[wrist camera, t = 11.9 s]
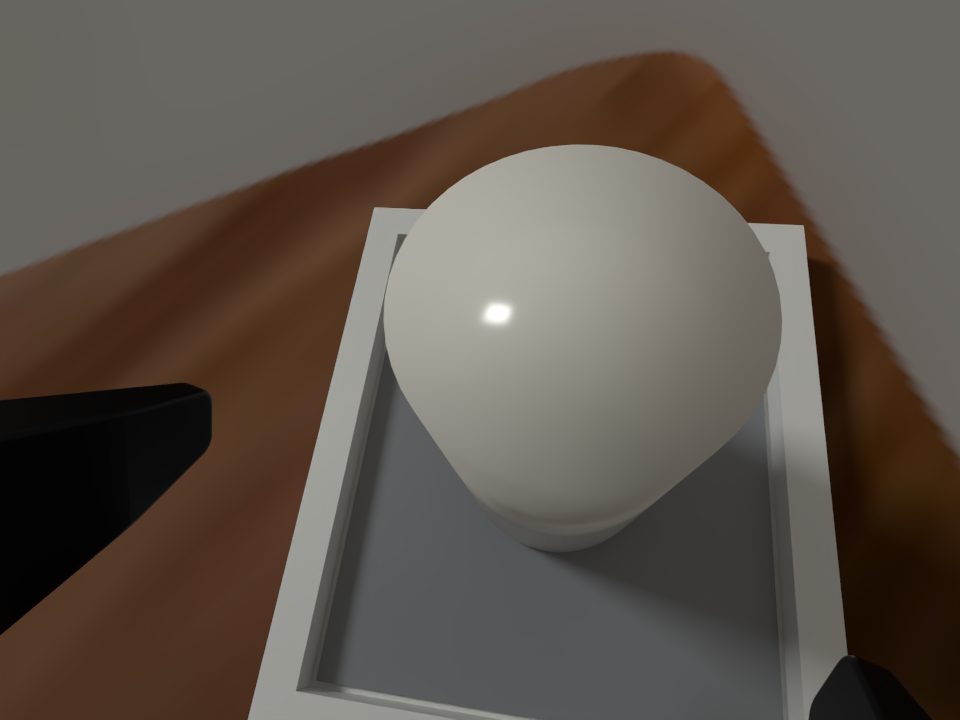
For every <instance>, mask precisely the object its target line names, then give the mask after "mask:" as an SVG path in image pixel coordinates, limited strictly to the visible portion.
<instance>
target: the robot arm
mask: <svg viewBox="0 0 960 720" xmlns="http://www.w3.org/2000/svg"><path fill="white" fill-rule="evenodd" d="M211 439H212V398H211V396H210V394H209V393H208V392H207V391H206V390H203V389H201V388H199V387H196V386H194V385H191V384H188V383H174V384H164V385H153V386H143V387H132V388H122V389H112V390H101V391H91V392H81V393H70V394H60V395H50V396H39V397H29V398H19V399H8V400H0V635H1V634H2V633H4V632H5V631H6V630H7V629H8V628H10V627H11V626H12V625H13V624H14V623H16V622H17V621H18V620H19V619H20V618H21V617H23V616H24V615H25V614H26V613H27V612H29V611H30V610H31V609H32V608H33V607H35V606H36V605H37V604H38V603H39V602H41V601H42V600H43V599H44V598H45V597H47V596H48V595H49V594H50V593H51V592H53V591H54V590H55V589H56V588H57V587H59V586H60V585H61V584H62V583H63V582H65V581H66V580H67V579H68V578H69V577H71V576H72V575H73V574H74V573H75V572H77V571H78V570H79V569H80V568H81V567H83V566H84V565H85V564H86V563H87V562H89V561H90V560H91V559H92V558H93V557H95V556H96V555H97V554H98V553H99V552H101V551H102V550H103V549H104V548H105V547H107V546H108V545H109V544H110V543H111V542H113V541H114V540H115V539H116V538H117V537H119V536H120V535H121V534H122V533H123V532H124V531H125V530H127V529H128V528H129V527H130V526H131V525H132V524H133V523H134V522H135V521H136V520H137V519H139V518H140V517H141V516H142V515H143V514H144V513H145V512H146V511H147V510H148V509H149V508H150V507H151V506H152V505H153V504H154V503H155V502H156V501H157V500H158V499H159V498H160V497H161V496H162V495H163V494H164V493H165V492H166V491H167V490H168V489H169V488H170V487H171V486H172V485H173V484H174V483H175V482H176V481H177V480H178V479H179V478H180V477H181V476H182V475H183V474H184V473H185V472H186V471H187V470H188V469H189V468H190V467H191V466H192V465H193V464H194V463H195V462H196V461H197V460H198V459H199V458H200V457H201V456H202V455H203V454H204V453H205V452H206V450H207V449H208V447H209V445H210V442H211ZM809 720H932V719H931V718H930V717H929V715H928V714H927V713H926V712H925V711H924V710H923V709H922V707H921V706H920V705H919V704H918V703H917V702H916V700H915V699H914V698H913V697H912V696H911V695H910V694H909V692H908V691H907V690H906V689H905V688H904V687H903V685H902V684H901V683H900V682H899V681H898V680H897V679H896V677H895V676H894V675H893V674H892V673H891V672H890V671H888V670H887V669H885V668H884V667H881V666H879V665H877V664H874V663H872V662H869V661H867V660H864V659H862V658H859V657H857V656H854V655H847V656H844V657H843V658H841V659H840V661H839V662H838V663H837V664H836V666H835V667H834V669H833V670H832V672H831V673H830V675H829V676H828V678H827V679H826V681H825V682H824V684H823V685H822V687H821V688H820V690H819V691H818V693H817V694H816V696H815V697H814V699H813V701H812V704H811V707H810V712H809Z"/></svg>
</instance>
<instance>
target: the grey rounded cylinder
mask: <svg viewBox="0 0 960 720" xmlns="http://www.w3.org/2000/svg"><path fill="white" fill-rule="evenodd" d="M384 331H385V342H386V347H387V351H388V355H389V359H390V363H391V367H392V369H393V372H394V374H395V377H396V379H397V381H398V384H399V386H400V389H401V390H402V392H403V394H404V395H405V397H406V399H407V401H408V402H409V404H410V406H411V407H412V409H413V410H414V412H415V413H416V415H417V416H418V418H419V419H420V421H421V422H422V423H423V425H424V426H425V428H426V429H427V431H428V432H429V434H430V435H431V437H432V438H433V439H434V441H435V442H436V444H437V445H438V447H439V448H440V450H441V451H442V452H443V454H444V455H445V457H446V458H447V460H448V461H449V463H450V464H451V465H452V467H453V468H454V470H455V471H456V473H457V474H458V476H459V477H460V478H461V480H462V481H463V483H464V484H465V486H466V487H467V489H468V490H469V491H470V493H471V494H472V496H473V497H474V499H475V500H476V502H477V503H478V504H479V506H480V507H481V509H482V510H483V512H484V513H485V514H486V515H487V517H488V518H489V519H490V521H491V522H492V523H493V524H494V525H495V526H497V527H498V528H499V529H500V530H501V531H502V532H504V533H505V534H506V535H508V536H509V537H510V538H512V539H514V540H516V541H518V542H519V543H521V544H524V545H526V546H529V547H531V548H535V549H539V550H543V551H549V552H574V551H580V550H584V549H588V548H591V547H594V546H596V545H598V544H601V543H603V542H605V541H607V540H608V539H610V538H611V537H613V536H614V535H616V534H617V533H618V532H619V531H621V530H622V529H623V528H624V527H626V526H627V525H628V524H629V523H630V522H632V521H633V520H634V519H635V518H637V517H638V516H639V515H640V514H641V513H643V512H644V511H645V510H646V509H647V508H649V507H650V506H651V505H652V504H654V503H655V502H656V501H657V500H658V499H660V498H661V497H662V496H663V495H664V494H666V493H667V492H668V491H669V490H671V489H672V488H673V487H674V486H675V485H677V484H678V483H679V482H680V481H681V480H683V479H684V478H685V477H686V476H688V475H689V474H690V473H691V472H692V471H694V470H695V469H696V468H697V467H698V466H700V465H701V464H702V463H703V462H705V461H706V460H707V459H708V458H709V457H711V456H712V455H713V454H714V453H716V452H717V451H718V450H719V449H720V448H721V447H722V446H723V445H724V444H726V443H727V442H728V441H729V440H730V439H731V438H732V437H733V436H734V435H736V434H737V432H738V431H739V430H740V429H741V427H742V426H743V425H744V424H745V423H746V421H747V420H748V419H749V418H750V417H751V415H752V414H753V413H754V411H755V409H756V408H757V406H758V404H759V402H760V401H761V399H762V397H763V396H764V394H765V392H766V390H767V388H768V385H769V383H770V380H771V378H772V375H773V373H774V370H775V368H776V363H777V359H778V354H779V350H780V345H781V332H782V311H781V301H780V294H779V290H778V286H777V282H776V278H775V274H774V271H773V269H772V266H771V264H770V261H769V259H768V257H767V254H766V252H765V250H764V248H763V247H762V245H761V243H760V241H759V240H758V238H757V236H756V235H755V233H754V231H753V230H752V229H751V227H750V226H749V225H748V224H747V222H746V221H745V220H744V218H743V217H742V216H741V215H740V213H739V212H738V211H737V210H736V209H735V208H734V207H733V206H732V205H731V204H730V203H729V202H728V201H727V200H726V199H725V198H724V197H723V196H721V195H720V194H719V193H717V192H716V191H715V190H714V189H712V188H711V187H710V186H708V185H707V184H706V183H704V182H703V181H701V180H700V179H698V178H696V177H695V176H693V175H691V174H690V173H688V172H686V171H685V170H683V169H681V168H679V167H676V166H674V165H672V164H670V163H668V162H665V161H663V160H661V159H658V158H655V157H652V156H649V155H646V154H643V153H639V152H635V151H630V150H626V149H621V148H616V147H607V146H598V145H563V146H552V147H545V148H540V149H535V150H530V151H525V152H522V153H519V154H515V155H512V156H509V157H505V158H503V159H501V160H498V161H496V162H493V163H491V164H489V165H486V166H484V167H482V168H480V169H479V170H477V171H475V172H473V173H471V174H470V175H468V176H466V177H465V178H463V179H462V180H460V181H459V182H457V183H456V184H455V185H453V186H452V187H450V188H449V189H448V190H447V191H445V192H444V193H443V194H442V195H441V196H440V197H439V198H438V199H437V200H435V201H434V202H433V203H432V204H431V205H430V206H429V207H428V209H427V210H426V211H425V212H424V213H423V214H422V215H421V217H420V218H419V219H418V220H417V221H416V223H415V224H414V226H413V227H412V229H411V230H410V232H409V233H408V235H407V236H406V238H405V240H404V242H403V244H402V246H401V248H400V250H399V252H398V254H397V256H396V258H395V261H394V264H393V267H392V270H391V272H390V275H389V279H388V284H387V289H386V294H385V301H384Z"/></svg>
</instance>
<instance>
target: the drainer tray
mask: <svg viewBox="0 0 960 720" xmlns="http://www.w3.org/2000/svg"><path fill="white" fill-rule="evenodd" d="M425 211H426V210H424V209H400V208H376V207H374V211H373V215H372V219H371V223H370V227H369V231H368V235H367V240H366V244H365V248H364V252H363V256H362V260H361V264H360V268H359V272H358V276H357V280H356V284H355V288H354V292H353V296H352V300H351V304H350V308H349V312H348V316H347V320H346V324H345V329H344V333H343V337H342V341H341V345H340V349H339V353H338V357H337V361H336V365H335V369H334V373H333V377H332V381H331V385H330V389H329V393H328V397H327V401H326V405H325V409H324V414H323V418H322V422H321V426H320V430H319V434H318V438H317V442H316V446H315V450H314V454H313V458H312V462H311V466H310V470H309V474H308V478H307V482H306V486H305V490H304V494H303V499H302V503H301V507H300V511H299V515H298V519H297V523H296V527H295V531H294V535H293V539H292V543H291V547H290V551H289V555H288V559H287V563H286V567H285V571H284V575H283V579H282V584H281V588H280V592H279V596H278V600H277V604H276V608H275V612H274V616H273V620H272V624H271V628H270V632H269V636H268V640H267V644H266V648H265V652H264V656H263V660H262V664H261V668H260V673H259V677H258V681H257V685H256V689H255V693H254V697H253V701H252V705H251V709H250V713H249V717H248V720H809V712H810V707H811V704H812V701H813V699H814V697H815V696H816V694H817V693H818V691H819V690H820V688H821V687H822V685H823V684H824V682H825V681H826V679H827V678H828V676H829V675H830V673H831V672H832V670H833V669H834V667H835V666H836V664H837V663H838V662H839V661H840V659H841V658H843V657H844V656H847V655H848V653H847V644H846V634H845V624H844V615H843V605H842V595H841V585H840V576H839V566H838V556H837V546H836V537H835V527H834V517H833V507H832V498H831V488H830V478H829V468H828V459H827V449H826V439H825V429H824V420H823V410H822V400H821V390H820V381H819V371H818V361H817V352H816V342H815V332H814V322H813V313H812V303H811V293H810V283H809V274H808V264H807V254H806V244H805V235H804V226H803V225H780V224H756V223H747V224H748V225H749V226H750V227H751V229H752V230H753V231H754V233H755V235H756V236H757V238H758V240H759V241H760V243H761V245H762V247H763V248H764V250H765V252H766V254H767V257H768V259H769V261H770V264H771V266H772V269H773V271H774V274H775V278H776V282H777V286H778V290H779V294H780V301H781V311H782V332H781V345H780V350H779V354H778V359H777V363H776V368H775V370H774V373H773V375H772V378H771V380H770V383H769V385H768V388H767V390H766V392H765V394H764V396H763V397H762V399H761V401H760V402H759V404H758V406H757V408H756V409H755V411H754V413H753V414H752V415H751V417H750V418H749V419H748V420H747V421H746V423H745V424H744V425H743V426H742V427H741V429H740V430H739V431H738V432H737V434H736V435H734V436H733V437H732V438H731V439H730V440H729V441H728V442H727V443H726V444H724V445H723V446H722V447H721V448H720V449H719V450H718V451H717V452H716V453H714V454H713V455H712V456H711V457H709V458H708V459H707V460H706V461H705V462H703V463H702V464H701V465H700V466H698V467H697V468H696V469H695V470H694V471H692V472H691V473H690V474H689V475H688V476H686V477H685V478H684V479H683V480H681V481H680V482H679V483H678V484H677V485H675V486H674V487H673V488H672V489H671V490H669V491H668V492H667V493H666V494H664V495H663V496H662V497H661V498H660V499H658V500H657V501H656V502H655V503H654V504H652V505H651V506H650V507H649V508H647V509H646V510H645V511H644V512H643V513H641V514H640V515H639V516H638V517H637V518H635V519H634V520H633V521H632V522H630V523H629V524H628V525H627V526H626V527H624V528H623V529H622V530H621V531H619V532H618V533H617V534H616V535H614V536H613V537H611V538H610V539H608V540H607V541H605V542H603V543H601V544H598V545H596V546H594V547H591V548H588V549H584V550H580V551H574V552H549V551H543V550H539V549H535V548H531V547H529V546H526V545H524V544H521V543H519V542H518V541H516V540H514V539H512V538H510V537H509V536H508V535H506V534H505V533H504V532H502V531H501V530H500V529H499V528H498V527H497V526H495V525H494V524H493V523H492V522H491V521H490V519H489V518H488V517H487V515H486V514H485V513H484V512H483V510H482V509H481V507H480V506H479V504H478V503H477V502H476V500H475V499H474V497H473V496H472V494H471V493H470V491H469V490H468V489H467V487H466V486H465V484H464V483H463V481H462V480H461V478H460V477H459V476H458V474H457V473H456V471H455V470H454V468H453V467H452V465H451V464H450V463H449V461H448V460H447V458H446V457H445V455H444V454H443V452H442V451H441V450H440V448H439V447H438V445H437V444H436V442H435V441H434V439H433V438H432V437H431V435H430V434H429V432H428V431H427V429H426V428H425V426H424V425H423V423H422V422H421V421H420V419H419V418H418V416H417V415H416V413H415V412H414V410H413V409H412V407H411V406H410V404H409V402H408V401H407V399H406V397H405V395H404V394H403V392H402V390H401V389H400V386H399V384H398V381H397V379H396V377H395V374H394V372H393V369H392V367H391V363H390V359H389V355H388V351H387V347H386V342H385V331H384V301H385V294H386V289H387V284H388V279H389V275H390V272H391V270H392V267H393V264H394V261H395V258H396V256H397V254H398V252H399V250H400V248H401V246H402V244H403V242H404V240H405V238H406V236H407V235H408V233H409V232H410V230H411V229H412V227H413V226H414V224H415V223H416V221H417V220H418V219H419V218H420V217H421V215H422V214H423V213H424V212H425Z"/></svg>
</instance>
